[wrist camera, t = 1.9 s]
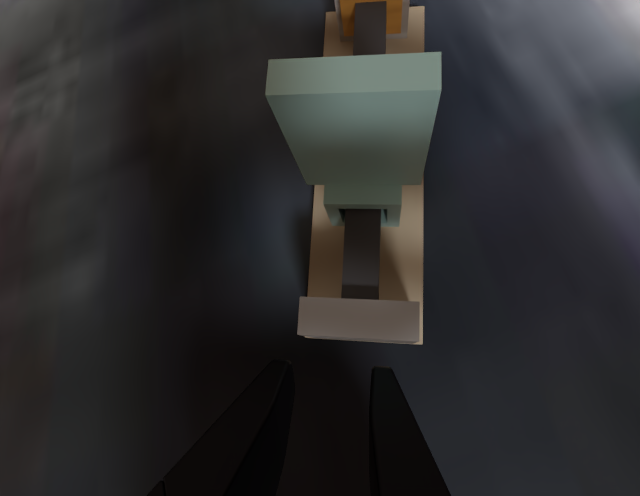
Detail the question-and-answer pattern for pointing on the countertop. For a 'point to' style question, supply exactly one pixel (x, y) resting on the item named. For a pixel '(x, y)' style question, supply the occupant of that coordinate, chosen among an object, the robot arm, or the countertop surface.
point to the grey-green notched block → (358, 125)
